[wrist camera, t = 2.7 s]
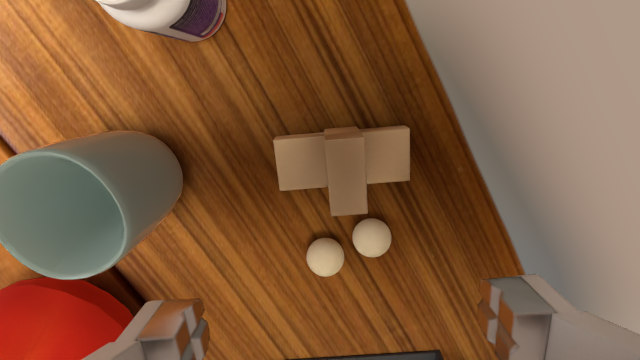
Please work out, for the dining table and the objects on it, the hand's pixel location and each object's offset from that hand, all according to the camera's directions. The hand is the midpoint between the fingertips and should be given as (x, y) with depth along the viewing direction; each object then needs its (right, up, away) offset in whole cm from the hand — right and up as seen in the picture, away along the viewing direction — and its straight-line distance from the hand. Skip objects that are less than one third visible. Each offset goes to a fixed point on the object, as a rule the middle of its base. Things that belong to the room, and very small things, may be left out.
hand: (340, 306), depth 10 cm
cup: (-15, +5, +18) cm, 24 cm away
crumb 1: (0, -3, +18) cm, 18 cm away
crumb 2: (+4, -1, +18) cm, 18 cm away
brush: (+1, +6, +17) cm, 18 cm away
